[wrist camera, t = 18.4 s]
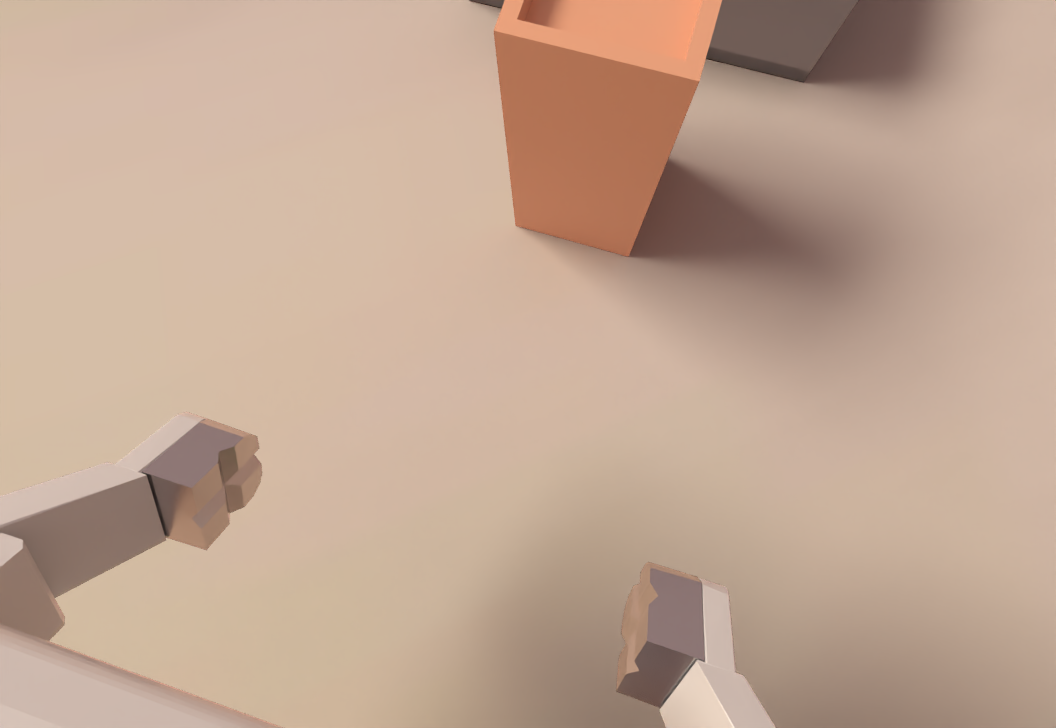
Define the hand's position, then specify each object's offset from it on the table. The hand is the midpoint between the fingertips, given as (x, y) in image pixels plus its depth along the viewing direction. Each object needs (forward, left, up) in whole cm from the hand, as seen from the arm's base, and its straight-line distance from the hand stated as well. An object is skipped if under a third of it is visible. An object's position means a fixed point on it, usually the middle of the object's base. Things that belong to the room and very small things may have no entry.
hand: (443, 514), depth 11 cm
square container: (-6, -11, -8) cm, 15 cm away
